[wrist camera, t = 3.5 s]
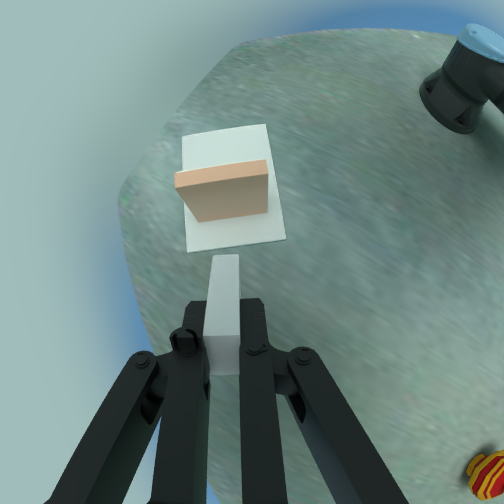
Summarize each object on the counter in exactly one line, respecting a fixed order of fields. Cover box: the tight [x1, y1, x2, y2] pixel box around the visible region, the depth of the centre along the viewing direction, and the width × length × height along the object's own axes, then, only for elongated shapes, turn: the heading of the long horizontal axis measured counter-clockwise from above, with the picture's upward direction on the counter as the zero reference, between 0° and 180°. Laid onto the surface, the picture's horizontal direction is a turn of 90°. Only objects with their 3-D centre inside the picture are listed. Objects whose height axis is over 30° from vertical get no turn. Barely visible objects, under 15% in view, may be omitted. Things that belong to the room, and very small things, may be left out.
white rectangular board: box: [182, 124, 286, 253], centre depth 43 cm, size 20×14×1 cm
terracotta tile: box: [175, 159, 269, 223], centre depth 36 cm, size 2×10×12 cm, turn 97°
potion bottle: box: [466, 450, 504, 501], centre depth 22 cm, size 10×10×15 cm
